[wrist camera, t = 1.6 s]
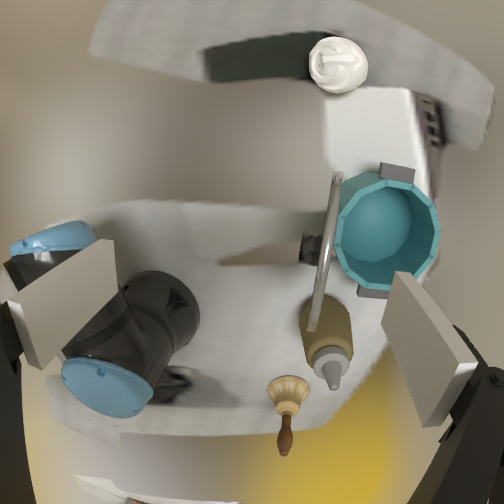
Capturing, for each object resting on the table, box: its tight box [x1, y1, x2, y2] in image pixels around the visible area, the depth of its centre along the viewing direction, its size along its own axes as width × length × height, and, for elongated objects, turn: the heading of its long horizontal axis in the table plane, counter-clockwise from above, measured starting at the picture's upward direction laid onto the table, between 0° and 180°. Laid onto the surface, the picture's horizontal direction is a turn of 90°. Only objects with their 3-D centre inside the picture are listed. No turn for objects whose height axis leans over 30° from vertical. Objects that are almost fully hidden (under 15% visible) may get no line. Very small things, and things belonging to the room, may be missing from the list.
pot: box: [332, 162, 440, 299], centre depth 40 cm, size 18×15×9 cm
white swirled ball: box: [309, 37, 368, 94], centre depth 34 cm, size 8×8×8 cm
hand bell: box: [267, 376, 310, 456], centre depth 49 cm, size 8×8×16 cm
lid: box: [299, 171, 343, 332], centre depth 29 cm, size 15×16×3 cm
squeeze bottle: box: [299, 296, 354, 390], centre depth 41 cm, size 8×8×18 cm
